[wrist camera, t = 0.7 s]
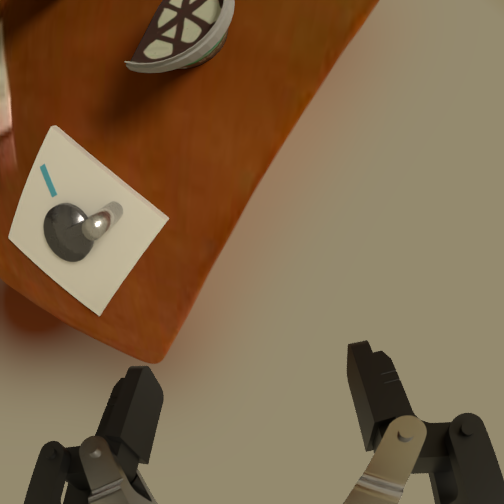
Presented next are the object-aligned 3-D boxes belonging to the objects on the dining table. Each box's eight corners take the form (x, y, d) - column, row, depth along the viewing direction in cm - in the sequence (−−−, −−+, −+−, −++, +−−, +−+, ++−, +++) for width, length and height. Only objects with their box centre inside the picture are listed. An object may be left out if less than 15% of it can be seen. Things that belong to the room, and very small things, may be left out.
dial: (64, 264, 37) (42, 287, 31) (39, 215, 33) (13, 232, 28) (135, 236, 35) (116, 259, 29) (108, 177, 31) (83, 191, 26)
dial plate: (12, 234, 36) (7, 238, 35) (56, 125, 30) (50, 126, 29) (102, 311, 42) (99, 316, 41) (169, 218, 35) (166, 222, 34)
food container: (206, 97, 29) (185, 91, 20) (158, 77, 28) (120, 67, 19) (259, 7, 24) (261, -30, 15) (209, -12, 23) (193, -50, 14)
